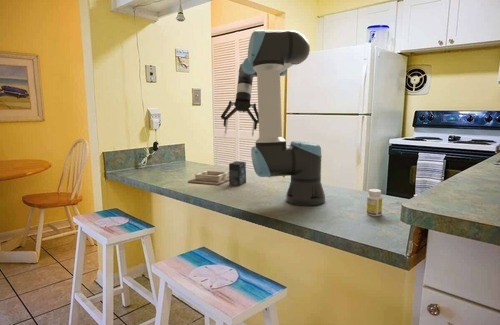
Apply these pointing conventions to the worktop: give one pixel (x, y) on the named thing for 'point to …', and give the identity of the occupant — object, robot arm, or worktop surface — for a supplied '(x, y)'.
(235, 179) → the box
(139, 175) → the worktop surface
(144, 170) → the worktop surface
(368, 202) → the supplement bottle
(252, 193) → the worktop surface
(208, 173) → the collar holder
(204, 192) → the worktop surface
